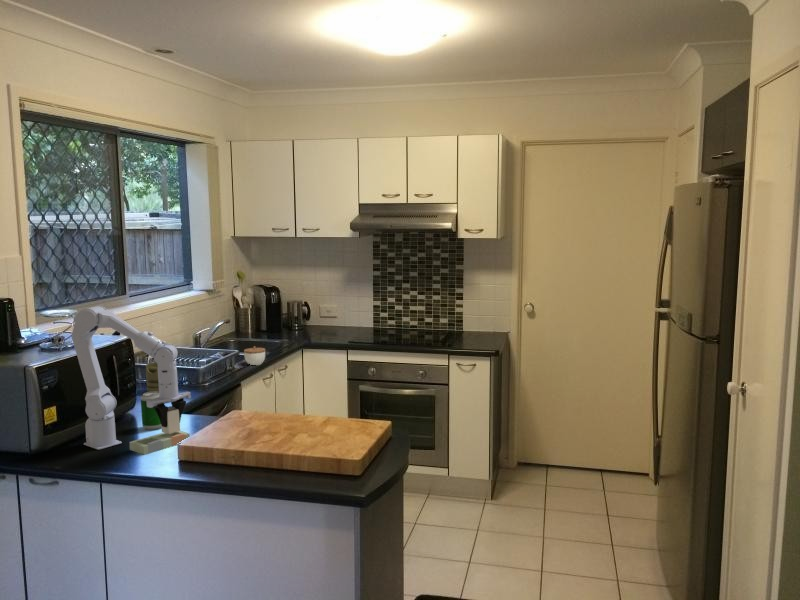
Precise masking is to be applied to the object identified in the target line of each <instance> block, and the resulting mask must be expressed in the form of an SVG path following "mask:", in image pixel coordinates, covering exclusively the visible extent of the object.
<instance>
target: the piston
mask: <svg viewBox="0 0 800 600" xmlns="http://www.w3.org/2000/svg"><path fill="white" fill-rule="evenodd" d="M145 376H146V377H145V378H146V393H147V392H155V391H156V392H159V382H158V364H157V363H156V362H155V361H153V362H149V363H146V364H145Z"/></svg>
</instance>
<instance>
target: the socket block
mask: <svg viewBox="0 0 800 600" xmlns="http://www.w3.org/2000/svg"><path fill="white" fill-rule="evenodd" d="M190 435H191V434H190V433H189V432H186V431H183V430H180V431H178V432H174V433H171V434H167V433H164V432H161V433H157V434H154V435H150V436H147V437H142V438H139V439H134V440H132V441H129V451H132V452H135V453H138V454H141V455H149V454H150V453H155V452H158V451H161V449H162V450H164V448H165V449H168V448H171V447H170V446H172V447H174V446H173V445H175V446H177V445H176V444H177V443H179V442H181V441H182V440H184V439H186V438H188V437H190V438H191V436H190ZM167 447H168V448H167Z"/></svg>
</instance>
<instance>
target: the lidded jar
mask: <svg viewBox="0 0 800 600" xmlns="http://www.w3.org/2000/svg"><path fill="white" fill-rule="evenodd" d="M243 355H244V360H245V362H246V363H247V364H248V365H249V364H250V365H249V366H251V365H256V366H261V365H262V364H263V363H264V361H265V359H266V348H264V347H257V346H255V345H254V346H253V347H250V348H245V349H243Z"/></svg>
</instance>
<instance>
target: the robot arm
mask: <svg viewBox="0 0 800 600" xmlns="http://www.w3.org/2000/svg"><path fill="white" fill-rule="evenodd" d="M73 320H74V325H73V328H72V332H71V341H72V343H73V346H74V350H75V353H76V356H77V359H78V365H79V367H80V370H81V374H82V377H83V380H84V381H83V382H84V384H85V387H86V395H85V397H84V400H85V404H86V405H85V410H84V411H85V414H86V415H87V417H88V418H87V419H86V421H85V425H84V428H85V439H86V442H84V443H83V445H84V446H86V447H90V448H92V449H95V450H103V449H106V448H109V447H112V446H116V445H120V444H122V443H123V442H122V441H121V440H118V439H117V436H116V435H117V434H116V433H117V432H116V422H115V421H116V419H115V412H114V410H115V409H116V407H117V402H118V401H117V399H116V397H115V396H114V395H113V393H112V392H111V389H110V388H109V387H108V386H107V385H106V383H105V379H104V377H103V373H102V370H101V367H100V363H99V360H98V356H97V353H96V348H95V346H94V342H93V339H92V338H93V336H94V335H95V333H96V331H98V329H105V328H107V329H108V328H109V329H112V330H114V331H116V332H118V333H120V335H123V336H125V337H126V338H128V339H130V340H132V341H133V345H134V347H136V348H138V350H141V351H142V352H144V353H145V354H147V355H148V356H150V357H151V358H153V359H154V362H156V363H157V364H158V382H159V397H157V398H155V399H152V400H149V401H146V402H147V407H149V408H152V407H153V409H154V410H155V411H156V413H157V415H158V417H159V419H160V422H161V425H162V427H167V412H168V407H169V406H167V405H166V404H171V406H172V407H175V409H179V421H180V422H181V420H182V419H181V418H182V415H183V411H184V409H185V407H186V404H187V400H188V399H191V398H192V395H191V394H192V393H191V392H190V391H183V392H179V385H178V383H179V382H178V380H179V379H178V369H177V360H176V359H177V357H178V355H179V354H178V353H179V350H178V349H177V347H176V346H175V345H174V344H172V343H167V341H166V340H162V339H160V338H158V337H156V336H155V335H154V332H152V331H147V330H144V331H140V330H138V329H137V328H135V327H134V326H132V325H131V324H130V323H128V322H127V321H125V320H124V319H123V318H121V317H119V316H118V315H117V314H116V313H114V312H113V311H112V310H110V309H108V308H106V307H104V306H102V305H100V304H99V305H94V306H91V307H88V308H87V307H86V308H83V309H81V310H80V311H78V313H77V314H76V315H75V316H74V317H73ZM186 399H187V400H186Z"/></svg>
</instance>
